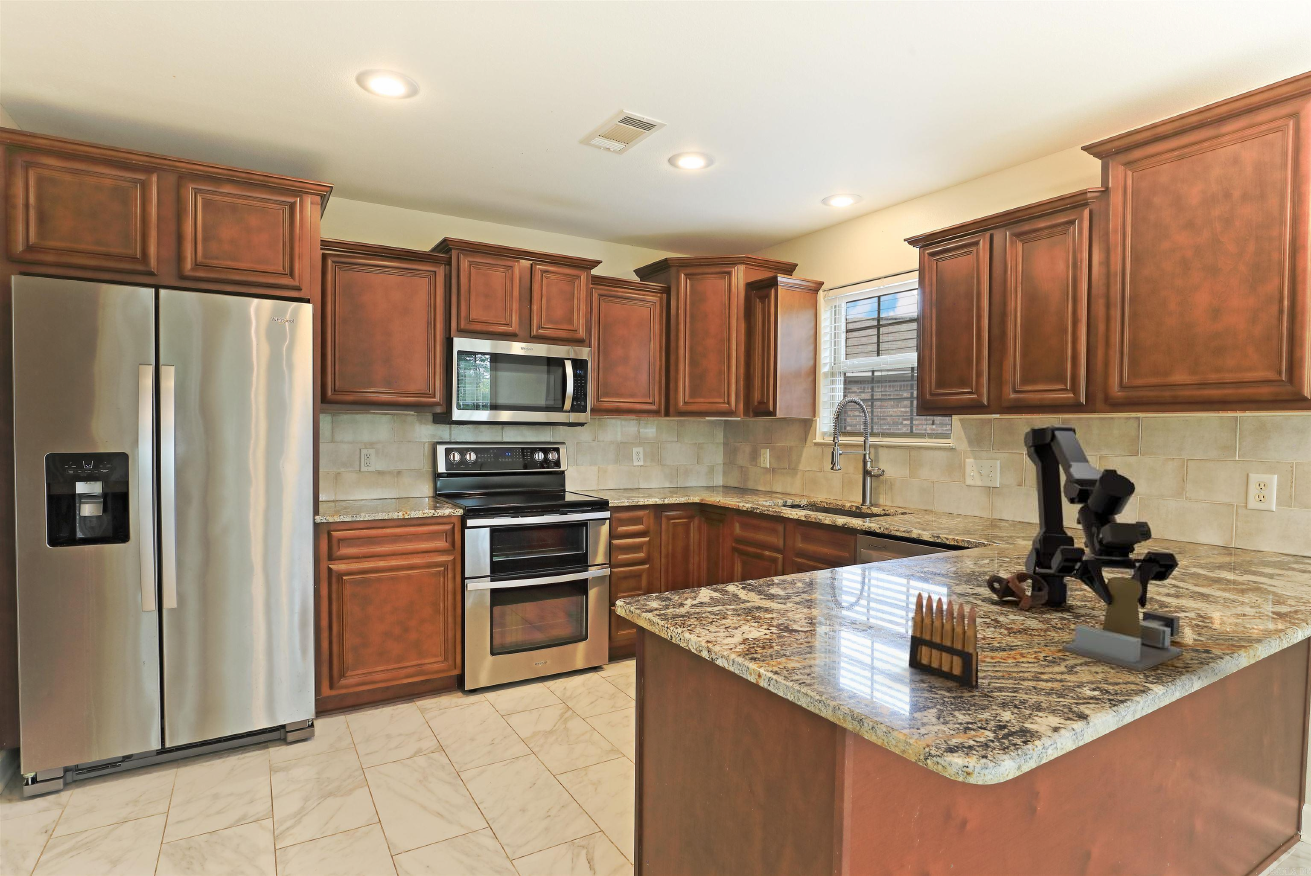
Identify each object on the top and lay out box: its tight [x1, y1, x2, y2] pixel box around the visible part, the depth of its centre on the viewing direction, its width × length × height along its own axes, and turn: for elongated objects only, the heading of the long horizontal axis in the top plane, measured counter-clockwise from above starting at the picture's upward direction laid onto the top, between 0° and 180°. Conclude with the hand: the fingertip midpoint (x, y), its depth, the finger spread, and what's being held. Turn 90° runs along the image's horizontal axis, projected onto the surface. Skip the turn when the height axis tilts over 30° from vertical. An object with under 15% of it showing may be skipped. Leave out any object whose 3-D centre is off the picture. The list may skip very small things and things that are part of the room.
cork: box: [1101, 576, 1142, 646], centre depth 121 cm, size 6×6×11 cm
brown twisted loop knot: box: [986, 571, 1049, 611], centre depth 152 cm, size 12×10×8 cm
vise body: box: [1061, 624, 1184, 673], centre depth 124 cm, size 25×12×4 cm, turn 124°
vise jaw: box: [1140, 609, 1181, 649], centre depth 128 cm, size 12×9×3 cm
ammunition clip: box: [908, 591, 979, 689], centre depth 107 cm, size 11×2×12 cm, turn 35°
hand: (1126, 605), depth 120 cm, fingers closed on cork, 5 cm apart
